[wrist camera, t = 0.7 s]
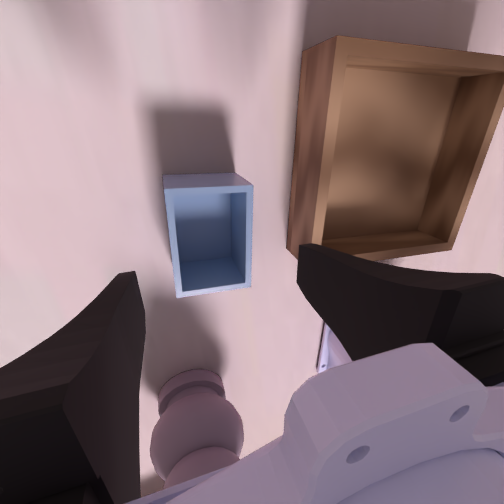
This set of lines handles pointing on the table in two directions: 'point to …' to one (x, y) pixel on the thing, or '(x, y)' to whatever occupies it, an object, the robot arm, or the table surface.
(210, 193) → the blue crate
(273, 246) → the table surface
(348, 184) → the tray
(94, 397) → the robot arm
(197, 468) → the grey rounded bulbous piece
